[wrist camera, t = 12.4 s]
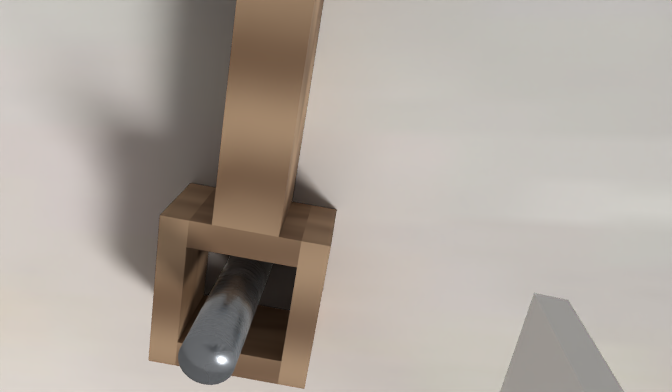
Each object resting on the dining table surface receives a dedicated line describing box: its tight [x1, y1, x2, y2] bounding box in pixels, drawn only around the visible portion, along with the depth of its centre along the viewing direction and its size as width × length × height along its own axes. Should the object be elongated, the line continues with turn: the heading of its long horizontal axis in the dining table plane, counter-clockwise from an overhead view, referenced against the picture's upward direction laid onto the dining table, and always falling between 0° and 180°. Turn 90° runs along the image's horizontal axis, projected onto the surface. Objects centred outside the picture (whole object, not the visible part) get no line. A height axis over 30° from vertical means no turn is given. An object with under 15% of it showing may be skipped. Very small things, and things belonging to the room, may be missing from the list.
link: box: [149, 0, 337, 389], centre depth 28 cm, size 25×8×5 cm, turn 170°
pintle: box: [178, 255, 273, 385], centre depth 29 cm, size 2×2×10 cm
